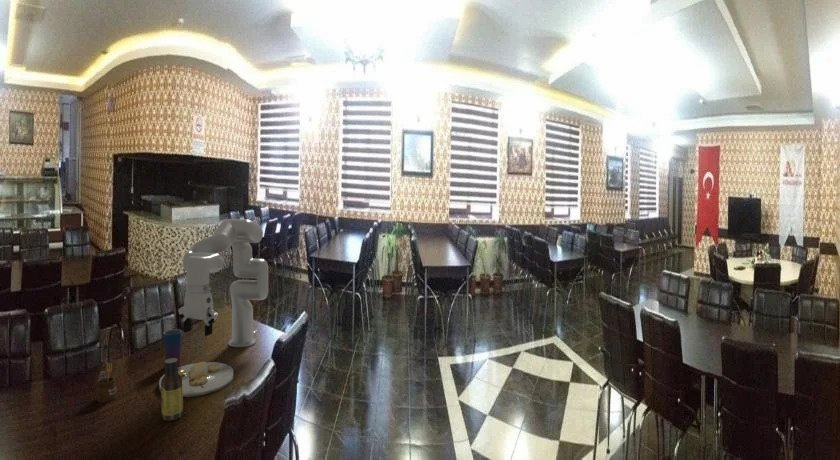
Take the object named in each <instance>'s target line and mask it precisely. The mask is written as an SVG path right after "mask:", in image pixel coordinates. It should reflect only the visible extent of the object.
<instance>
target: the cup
mask: <svg viewBox="0 0 840 460" xmlns="http://www.w3.org/2000/svg"><path fill="white" fill-rule="evenodd" d="M182 333H183V330H181V329H178V328H177V329H175V328H174V329H168V330H165V331H164V332H163V333H162V334H163V343H164V345H163V347H164V354H165V355H164V357H165V360H167V359H170V358H177V359H178V367H181V353H182V352H181V350H182Z"/></svg>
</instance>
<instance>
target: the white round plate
mask: <svg viewBox="0 0 840 460" xmlns="http://www.w3.org/2000/svg"><path fill="white" fill-rule="evenodd" d="M205 362H206V374H207V375H208V381H207V383H205V384H203V385H200V386H191V385H189V377H190V376H191V370H190V367H192V366H194V365H196V364H198V363H199V362H196V363H190V364H185V365H182V366H179V367H178V373H179V374H180V376H181V377H182V385H183V398H191V397H192V398H193V397H199V396H203V395H204V396H205V395H207V394H212V393H215V392H217V391H220V390H222V389H223V388H225V387H227V386H228V385H230V383H232V381H233V380H234V369H233V367H231V365H228V364H226V363H221V362H215V361H213V362H211V361H208V362H207V361H205ZM164 376H165V373H164V374H163V375H161V377H160V378H159V381H158V389H159V391H160V392H161V381H162V379H163V377H164Z"/></svg>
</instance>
